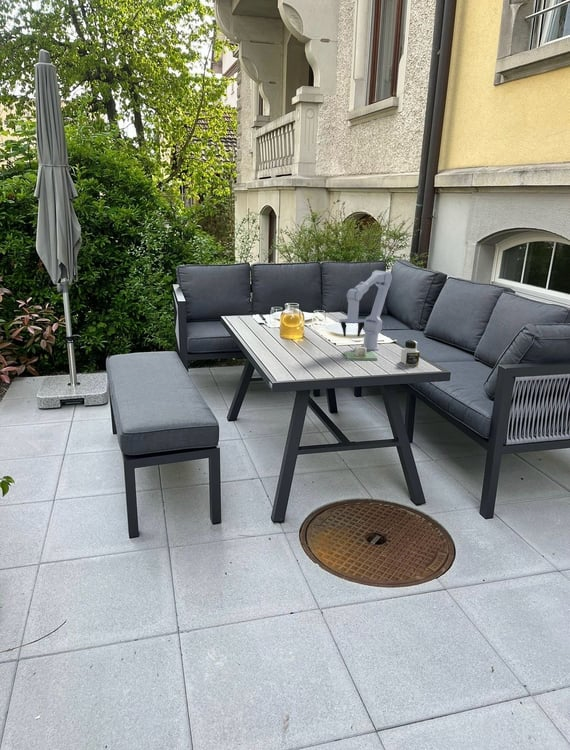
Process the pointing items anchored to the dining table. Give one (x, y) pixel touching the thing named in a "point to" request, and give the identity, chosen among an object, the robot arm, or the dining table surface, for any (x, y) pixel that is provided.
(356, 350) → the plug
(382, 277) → the robot arm
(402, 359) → the medicine bottle
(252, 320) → the dining table surface
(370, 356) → the header board
